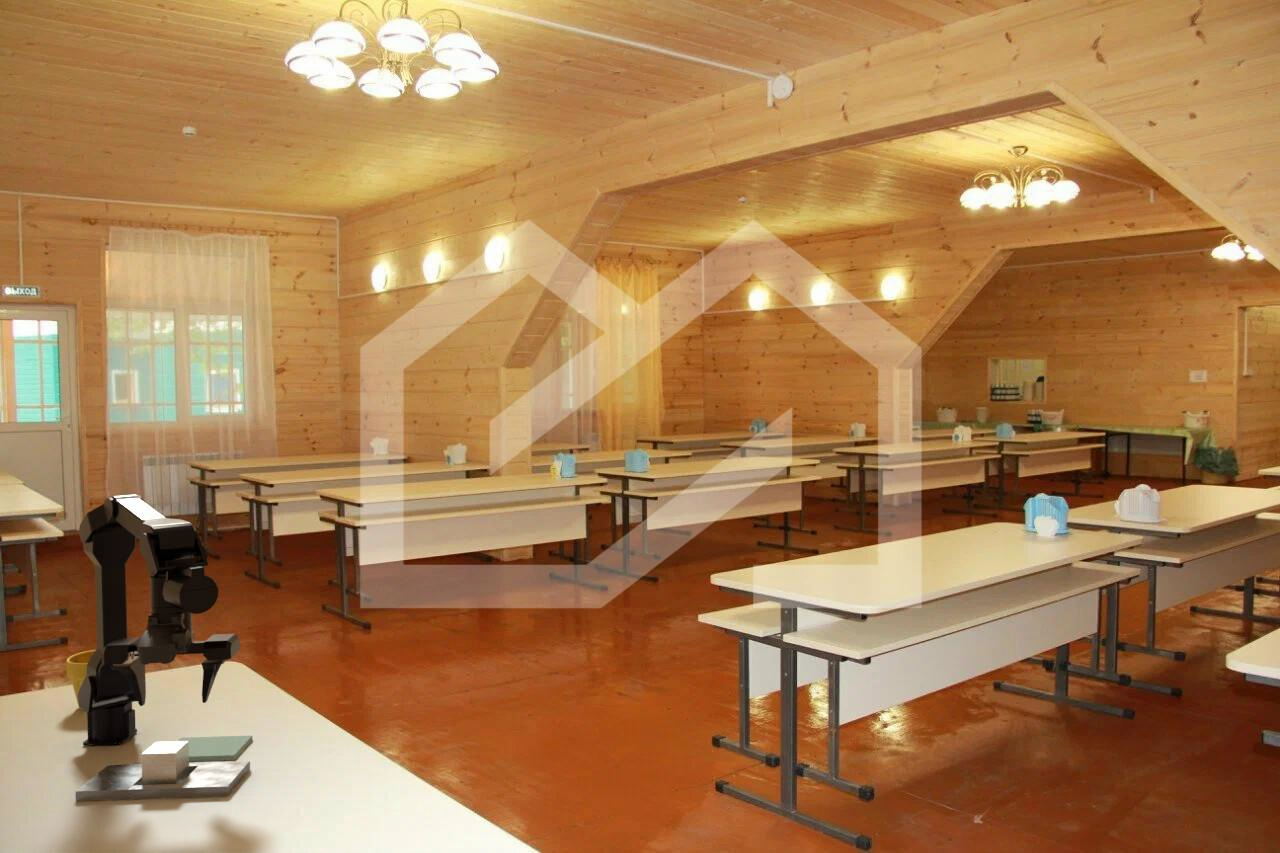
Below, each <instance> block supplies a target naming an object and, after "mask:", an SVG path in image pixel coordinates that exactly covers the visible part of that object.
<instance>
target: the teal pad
mask: <svg viewBox="0 0 1280 853" xmlns="http://www.w3.org/2000/svg"><path fill="white" fill-rule="evenodd" d="M177 741H189V762H217V761H236V759H237V758H238V757H239V756H240V754H241V753H242V752H243V751H244V750H245V749H246V748H247V746H248V745H249V744H250V743H251V742H252V741H253V735H229V736H228V735H227V736H225V735H224V736H223V735H222V736H221V735H220V736H199V737H198V736H193V737H192V736H191V737H190V736H189V737H186V736H185V737H180V738H179V739H178V740H177Z"/></svg>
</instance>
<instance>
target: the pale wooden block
mask: <svg viewBox="0 0 1280 853" xmlns="http://www.w3.org/2000/svg"><path fill="white" fill-rule="evenodd" d="M189 763H190V761H189V741H178V740H174V741H173V740H172V741H155V742H154V743H152V745H151V744H150V746H149V747H148V748H147V749H146V750H144V751H143V752H142V753H141V764H142V785H164V784H181V783H182V782H183V781H184V780H185V779H186V778H187V777H188V776H189Z"/></svg>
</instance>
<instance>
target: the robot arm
mask: <svg viewBox="0 0 1280 853" xmlns="http://www.w3.org/2000/svg"><path fill="white" fill-rule="evenodd" d="M78 531H79V532H78V534H79V538H80V542H81V543H82V548H83V551H84V553H85V554H86V556H87V557H88V558H89V560H90V561H91V562H92V564H93V565H94V582H95V584H94V586H95V587H94V588H95V589H94V590H95V593H94V594H95V623H96V626H95V627H96V649H95V650H96V651H95V652H94V654H93V656H92V657H91V659H90V660H89V662H88V664H87V672H86V677H85V679H84V681H83V683H82V686H81V688H80V690H79V693H78V702H77V704H78V703H79V706H78V708H79V707H80V708H82V709H83V710H82V711H85V713H86V717H87V718H86V720H87V722H86V724H87V725H86V726H87V739H85V740H84V741H83V742H82V745H83V746H104V745H105V746H107V745H111V746H112V745H121V744H124V742H126V741H128V740H129V739H130V738H131V737H132V736H134V735H135V734H136V733H137V732H138V728H136V710H135V709H133V703H134V702H137V703H138V705H139V706H140V707H143V706H144V705H145V704H146V698H147V697H146V695H147V692H146V691H147V690H146V689H147V687H146V665H147V666H148V665H149V664H162V665H167V664H170V663H172V662H174V660H175V659H176V656H177V655H194V654H195V655H197V654H198V655H200V654H202V655H203V656H202V657H204V658H205V659H204V660H203V661H202V662H201V666H202V671H203V674H202V690H201V701H202V703H203V704H204V703H205V704H206V703H207V701H208V700H209V696H210V694H211V691H212V688H213V685H214V684H215V679H216V677H217V674H218V673H219V671H220V668H221V666H222V665H224V663H225V662H227V661H228V660H230V659H232V658H233V657H234V656H235V655H236V654H238V653H239V652H240V651H241V641H240V637H239V636H238V635H237V634H236V633H220V634H219V633H217V634H212V635H211V636H210V637H208V638H207V639H206V640H200V641H199V640H195V641H194V639H195V631H193V615H199V614H200V615H201V614H203V613H206V612H207V611H209V610H210V609H212V608H213V606H215V604H216V602H217V599H218V597H219V587H218V586H217V583H216V582H215V580H214V579H213V578H212V577H210V576H208V575H205V567H208V566H209V562H208V559H207V558H208V556H209V555H208V553H207V550H206V548H205V545H204V543H203V541H202V539H201V537H200V535H199V532H198V530H197V529H196V528H195V526H194V524H192V523H191V522H189V521H187V520H183V519H181V518H179V519H178V518H168V517H165V516H164V515H162V513H160V512H158V511H157V510H155V509H154V508H153V507H151V506H150V505H149V504H147V503H146V502H144V500H143V497H142V496H141V495H137V494H132V493H131V494H121V495H112V496H110V497H107V498H106V499H105V501H104V502H103V504H101V505H99V506H97V507H96V508H94V509H92V510H90V511H88V512H87V513H85V516H84V518H83V519H82V521H81V522H80V524H79V528H78ZM137 540H139V552H140V553H141V555H142V558H144V560H145V562H146V564H147V568H146V572H147V573H149V585H150V586H149V588H150V589H149V592H150V613H149V614H148V615H147V617H148V619H147V625H146V629H145V631H144V632H143V633H142V635H141V636H140V637H128V607H127V606H128V604H127V603H128V600H127V572H126V570H127V568H126V567H127V563H128V561H129V560H130V558H131V556H132V555H133V553H134V552H135V550H136V547H137ZM80 708H79V709H80Z"/></svg>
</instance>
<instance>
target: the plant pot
mask: <svg viewBox="0 0 1280 853" xmlns="http://www.w3.org/2000/svg"><path fill="white" fill-rule="evenodd" d="M95 651H96V649H92V650H85V651H82V652H78V653H75V654H73V655H70V656H69V657H68V658H67V659H66V661H65V664H66V666H65V667H66V668H65V669H66V678H68V679H70V681H71V685H72V687H73V692H74V694H75V698H76V702H77V705H78V708H79V709H80V710H82V711H84V710H83V709H82V708H80V707H79V703H78V693H79V690H80V688H81V686H82V683H83V681H84V679H85V677H86V672H87V664H88V662H89V660H90V659H91V657H92V656H93V654H94V652H95Z"/></svg>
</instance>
